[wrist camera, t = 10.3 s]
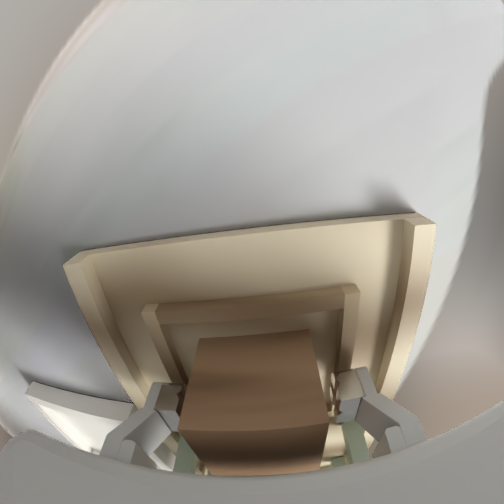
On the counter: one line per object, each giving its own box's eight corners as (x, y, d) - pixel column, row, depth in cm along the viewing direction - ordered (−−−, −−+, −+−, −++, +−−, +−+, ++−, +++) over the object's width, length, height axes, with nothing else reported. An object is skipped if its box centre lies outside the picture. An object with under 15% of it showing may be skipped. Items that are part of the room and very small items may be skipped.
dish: (184, 466, 18) (182, 479, 17) (92, 447, 19) (88, 457, 18) (133, 403, 14) (126, 422, 13) (32, 381, 15) (24, 393, 13)
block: (307, 393, 12) (319, 469, 8) (220, 400, 13) (211, 474, 8) (308, 328, 11) (329, 422, 6) (199, 337, 11) (177, 429, 7)
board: (354, 457, 18) (356, 469, 16) (201, 469, 19) (199, 481, 17) (417, 212, 9) (436, 223, 8) (80, 251, 10) (62, 265, 9)
